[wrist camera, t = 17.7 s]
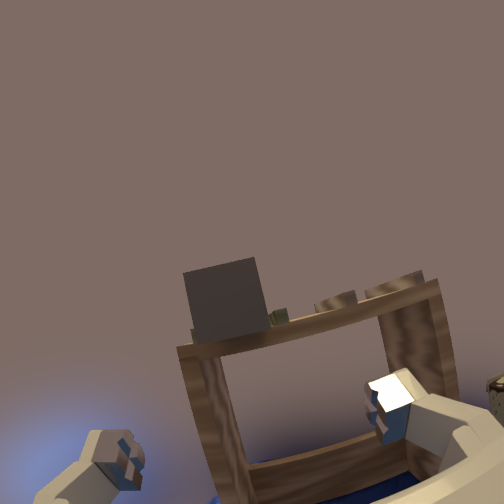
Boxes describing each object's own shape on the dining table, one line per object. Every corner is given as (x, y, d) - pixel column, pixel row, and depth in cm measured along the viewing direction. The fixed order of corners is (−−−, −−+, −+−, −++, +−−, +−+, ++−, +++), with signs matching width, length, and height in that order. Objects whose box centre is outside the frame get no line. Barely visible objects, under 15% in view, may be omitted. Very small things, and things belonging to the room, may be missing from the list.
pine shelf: (462, 499, 20) (433, 265, 26) (248, 572, 19) (173, 332, 25) (413, 462, 34) (380, 285, 40) (250, 511, 33) (200, 330, 39)
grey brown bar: (271, 329, 17) (254, 256, 18) (197, 345, 17) (182, 273, 17) (262, 327, 40) (254, 296, 41) (231, 334, 40) (224, 303, 41)
